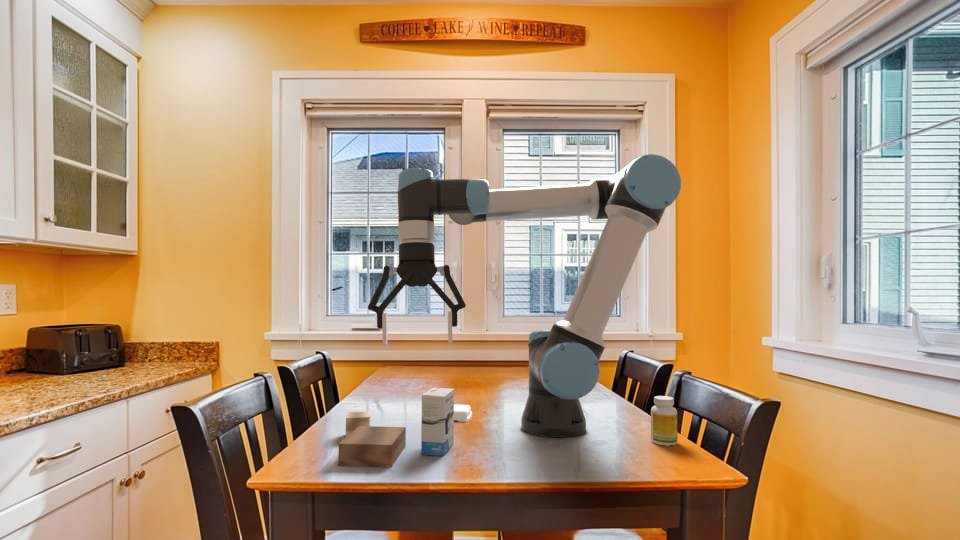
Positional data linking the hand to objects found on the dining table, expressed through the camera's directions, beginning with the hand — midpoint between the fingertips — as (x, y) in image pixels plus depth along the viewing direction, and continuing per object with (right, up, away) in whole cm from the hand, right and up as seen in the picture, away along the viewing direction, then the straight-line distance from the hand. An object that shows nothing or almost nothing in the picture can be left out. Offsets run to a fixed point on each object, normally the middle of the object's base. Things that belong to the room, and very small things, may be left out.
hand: (417, 343), depth 103 cm
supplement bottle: (+53, -22, +3) cm, 57 cm away
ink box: (+4, -22, -2) cm, 22 cm away
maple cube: (-14, -22, +6) cm, 27 cm away
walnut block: (-8, -21, -6) cm, 23 cm away
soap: (+7, -23, +24) cm, 34 cm away
